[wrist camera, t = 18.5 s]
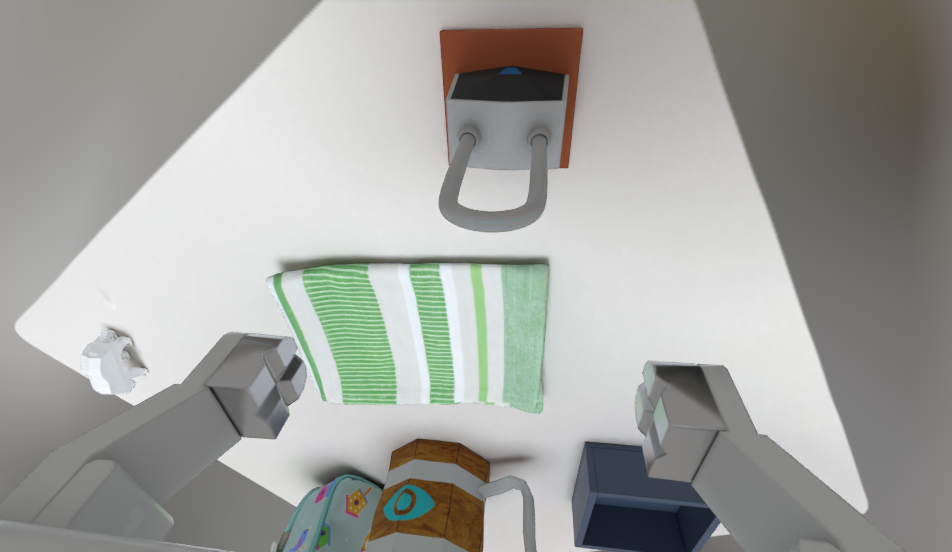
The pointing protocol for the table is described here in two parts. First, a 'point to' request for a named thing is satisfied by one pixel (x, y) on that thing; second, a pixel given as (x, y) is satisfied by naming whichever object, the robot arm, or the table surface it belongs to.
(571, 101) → the mat
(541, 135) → the padlock
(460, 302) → the dish towel
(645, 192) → the table surface
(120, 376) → the figurine
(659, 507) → the basket
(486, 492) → the mug
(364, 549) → the lunch box
